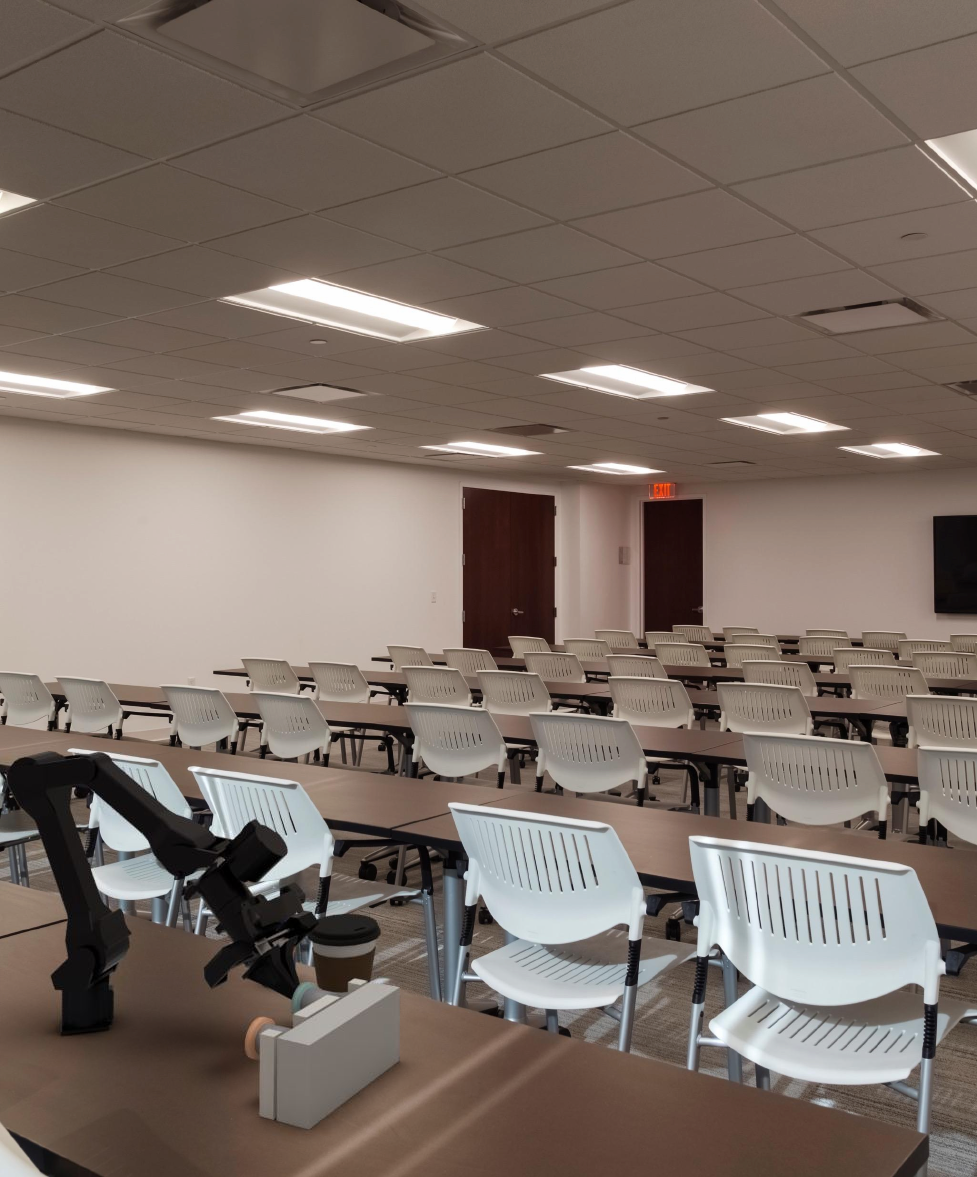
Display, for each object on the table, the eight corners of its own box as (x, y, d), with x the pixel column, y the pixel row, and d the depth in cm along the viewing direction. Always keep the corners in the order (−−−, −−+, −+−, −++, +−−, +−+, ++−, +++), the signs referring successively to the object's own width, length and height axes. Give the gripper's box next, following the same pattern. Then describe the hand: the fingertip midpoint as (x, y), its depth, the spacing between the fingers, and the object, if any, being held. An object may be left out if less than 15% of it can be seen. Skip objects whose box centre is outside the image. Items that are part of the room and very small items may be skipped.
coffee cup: (395, 1003, 158) (396, 923, 158) (337, 1025, 150) (338, 940, 150) (348, 985, 166) (349, 908, 166) (291, 1004, 158) (291, 923, 158)
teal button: (291, 1025, 139) (291, 988, 139) (312, 1012, 143) (312, 976, 143) (322, 1032, 137) (323, 995, 137) (343, 1019, 141) (343, 983, 141)
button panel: (259, 1115, 124) (259, 1033, 124) (354, 1050, 142) (354, 978, 142) (308, 1129, 121) (309, 1045, 121) (399, 1060, 139) (399, 987, 139)
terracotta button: (244, 1064, 127) (244, 1024, 127) (269, 1049, 132) (269, 1010, 132) (278, 1073, 125) (278, 1032, 125) (302, 1057, 129) (303, 1018, 130)
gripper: (221, 885, 135) (292, 986, 130) (307, 853, 152) (373, 941, 147) (173, 938, 139) (241, 1038, 134) (263, 901, 155) (326, 989, 151)
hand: (299, 998), depth 141 cm, fingers closed
